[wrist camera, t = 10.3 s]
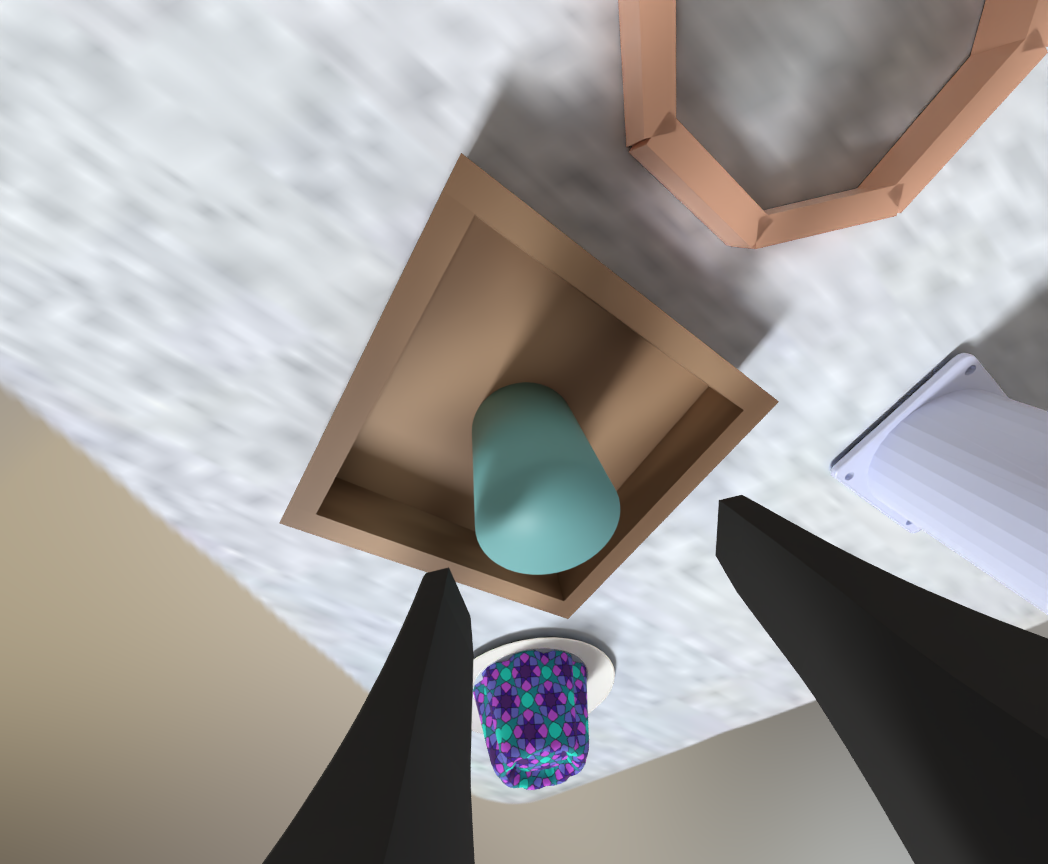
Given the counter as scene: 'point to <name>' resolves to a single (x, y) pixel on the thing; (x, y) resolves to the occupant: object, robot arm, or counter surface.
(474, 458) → the teal tapered cylinder
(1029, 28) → the collar
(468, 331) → the tray
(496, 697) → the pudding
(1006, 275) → the counter surface
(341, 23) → the counter surface
